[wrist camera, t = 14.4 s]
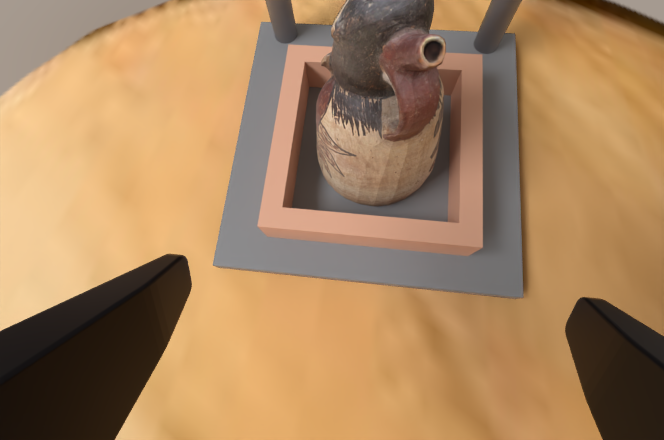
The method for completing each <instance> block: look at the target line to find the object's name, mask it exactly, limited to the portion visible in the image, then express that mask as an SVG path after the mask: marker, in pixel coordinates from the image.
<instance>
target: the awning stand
mask: <svg viewBox="0 0 664 440" xmlns="http://www.w3.org/2000/svg"><path fill="white" fill-rule="evenodd" d="M265 1H266V5H267V8H268V12H269V16H270V19H271V22H261V26H260V31H259V36H258V41H257V46H256V51H255V56H254V61H253V66H252V71H251V76H250V81H249V86H248V91H247V96H246V101H245V106H244V111H243V116H242V121H241V126H240V131H239V136H238V141H237V146H236V151H235V156H234V161H233V166H232V171H231V176H230V181H229V186H228V191H227V196H226V201H225V206H224V211H223V216H222V221H221V226H220V231H219V236H218V241H217V246H216V251H215V256H214V261H213V266H216V267H218V268H227V269H236V270H246V271H255V272H265V273H274V274H284V275H293V276H303V277H312V278H322V279H331V280H341V281H350V282H360V283H369V284H379V285H388V286H398V287H408V288H417V289H427V290H436V291H446V292H455V293H465V294H474V295H484V296H493V297H503V298H512V299H518V298H523V269H522V236H521V204H520V172H519V140H518V107H517V75H516V43H515V34H511V33H505V32H506V30H507V28H508V26H509V24H510V22H511V20H512V18H513V16H514V14H515V13H516V11H517V9H518V7H519V5H520V3H521V1H522V0H492V1H491V3H490V5H489V8H488V10H487V12H486V15H485V17H484V19H483V22H482V24H481V26H480V29H479V31H478V32H468V31H447V30H429V34H435V35H440V36H441V37H442V38H444V39H445V42H446V53H445V56H444V59H443V62H442V64H441V65H439V66H437V69H438V72H439V75H440V78H441V81H442V84H443V89H444V108H443V119H442V128H441V135H440V140H439V146H438V151H437V156H436V159H435V163H434V166H433V169H432V171H431V173H430V175H429V176H428V177H427V179H426V180H425V181H424V183H423V184H422V185H421V187H420V188H419V189H418V190H416V191H415V192H413V193H412V194H411V195H409V196H408V197H406V198H405V199H403V200H400V201H398V202H396V203H393V204H391V205H385V206H369V205H363V204H358V203H356V202H353V201H351V200H348V199H346V198H344V197H343V196H341V195H340V194H339V193H337V192H336V191H335V190H334V189H333V188H332V187H331V186H330V185H329V184H328V182H327V181H326V179H325V177H324V176H323V173H322V170H321V167H320V164H319V161H318V154H317V126H316V103H317V99H318V96H319V93H320V91H321V89H322V87H323V85H324V84H325V83H326V82H327V81H328V80H329V79H330V77H331V72H330V71H329V70H328V69H327V68H326V67H324V66H321V61H322V59H323V58H324V57H325V56H326V55H327V54H328V53H330V52H332V45H333V40H334V39H333V38H332V36H331V28H332V25H317V24H296V23H295V20H294V14H293V9H292V4H291V0H265Z"/></svg>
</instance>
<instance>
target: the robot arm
mask: <svg viewBox="0 0 664 440" xmlns="http://www.w3.org/2000/svg"><path fill="white" fill-rule="evenodd" d="M191 287H192V282H191V276H190V271H189V266H188V261H187V258H186V257H185V256H183V255H177V254H166V255H164V256H162V257H160V258H157V259H155V260H153V261H151V262H149V263H147V264H144V265H142V266H140V267H138V268H136V269H134V270H131V271H129V272H127V273H125V274H123V275H121V276H118V277H116V278H114V279H112V280H110V281H108V282H105V283H103V284H101V285H99V286H97V287H95V288H92V289H90V290H88V291H86V292H84V293H82V294H79V295H77V296H75V297H73V298H71V299H69V300H66V301H64V302H62V303H60V304H58V305H56V306H53V307H51V308H49V309H47V310H45V311H43V312H40V313H38V314H36V315H34V316H32V317H30V318H27V319H25V320H23V321H21V322H19V323H17V324H14V325H12V326H10V327H8V328H6V329H4V330H2V331H0V440H115V438H116V436H117V435H118V433H119V431H120V429H121V428H122V426H123V424H124V422H125V420H126V419H127V417H128V415H129V413H130V412H131V410H132V408H133V406H134V404H135V403H136V401H137V399H138V397H139V396H140V394H141V392H142V390H143V388H144V387H145V385H146V383H147V381H148V380H149V378H150V376H151V374H152V372H153V371H154V369H155V367H156V365H157V364H158V362H159V360H160V358H161V356H162V355H163V353H164V351H165V349H166V347H167V345H168V343H169V341H170V338H171V336H172V334H173V331H174V329H175V327H176V324H177V322H178V320H179V317H180V315H181V313H182V310H183V308H184V306H185V303H186V301H187V299H188V296H189V294H190V291H191ZM565 332H566V337H567V340H568V344H569V347H570V350H571V353H572V357H573V360H574V363H575V366H576V370H577V373H578V376H579V379H580V383H581V386H582V389H583V392H584V395H585V398H586V401H587V403H588V406H589V408H590V411H591V413H592V416H593V418H594V420H595V423H596V425H597V427H598V430H599V432H600V434H601V437H602V439H603V440H664V336H662V335H661V334H659V333H657V332H656V331H654V330H652V329H651V328H649V327H647V326H646V325H644V324H643V323H641V322H639V321H638V320H636V319H634V318H633V317H631V316H630V315H628V314H626V313H625V312H623V311H621V310H620V309H618V308H617V307H615V306H613V305H612V304H610V303H608V302H607V301H605V300H603V299H599V298H589V297H582V298H580V299H579V300H578V301H577V303H576V305H575V307H574V309H573V311H572V313H571V315H570V317H569V319H568V321H567V323H566V327H565Z"/></svg>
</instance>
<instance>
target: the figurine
mask: <svg viewBox="0 0 664 440" xmlns="http://www.w3.org/2000/svg"><path fill="white" fill-rule="evenodd" d="M433 12H434V0H347V1H346V2H345V4H344V5H343V7H342V8H341V10H340V12H339V13H338V15H337V17H336V19H335V21H334V22H333V25H332V28H331V36H332V38H333V39H334V40H333V45H332V52H330V53H328V54H327V55H326V56H325V57H324V58H323V59H322V61H321V66H324V67H326V68H327V69H328V70H329V71H330V72H331V77H330V79H329V80H328V81H327V82H326V83H325V84H324V85H323V87H322V89H321V91H320V93H319V96H318V99H317V103H316V126H317V154H318V161H319V164H320V167H321V170H322V173H323V176H324V177H325V179H326V181H327V182H328V184H329V185H330V186H331V187H332V188H333V189H334V190H335V191H336V192H337V193H339V194H340V195H341V196H343V197H344V198H346V199H348V200H351V201H353V202H356V203H358V204H363V205H369V206H385V205H391V204H393V203H396V202H398V201H400V200H403V199H405V198H406V197H408V196H409V195H411V194H412V193H413V192H415V191H416V190H418V189H419V188H420V187H421V185H422V184H423V183H424V181H425V180H426V179H427V177H428V176H429V175H430V173H431V171H432V169H433V166H434V163H435V159H436V156H437V151H438V146H439V140H440V135H441V128H442V119H443V108H444V89H443V84H442V81H441V78H440V75H439V72H438V69H437V66H439V65H441V64H442V62H443V59H444V56H445V53H446V42H445V39H444V38H442V37H441V36H440V35H435V34H429V29H430V26H431V23H432V18H433Z"/></svg>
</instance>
